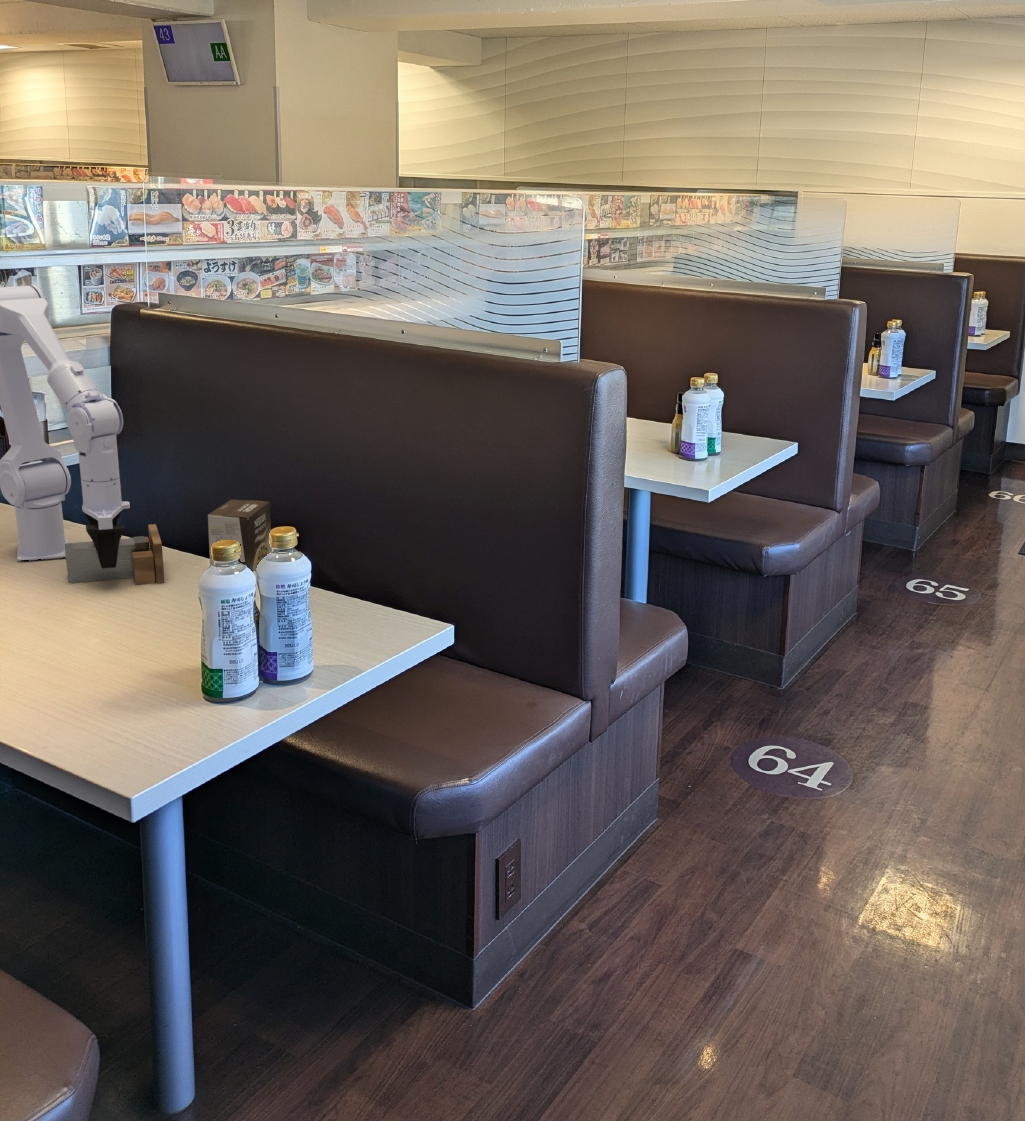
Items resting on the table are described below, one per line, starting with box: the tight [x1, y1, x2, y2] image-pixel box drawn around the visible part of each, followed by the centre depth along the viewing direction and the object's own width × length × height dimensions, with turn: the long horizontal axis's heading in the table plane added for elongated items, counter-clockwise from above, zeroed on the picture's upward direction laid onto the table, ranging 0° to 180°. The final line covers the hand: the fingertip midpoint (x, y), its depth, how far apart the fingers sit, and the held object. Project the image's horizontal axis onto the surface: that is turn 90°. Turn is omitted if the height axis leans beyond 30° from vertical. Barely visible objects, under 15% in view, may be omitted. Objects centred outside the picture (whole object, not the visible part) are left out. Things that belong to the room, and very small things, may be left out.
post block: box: [132, 523, 166, 585], centre depth 182 cm, size 11×4×6 cm, turn 22°
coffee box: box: [207, 499, 272, 571], centre depth 166 cm, size 9×6×16 cm
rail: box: [65, 535, 146, 584], centre depth 179 cm, size 4×12×6 cm, turn 112°
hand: (107, 559), depth 180 cm, fingers open, 7 cm apart
